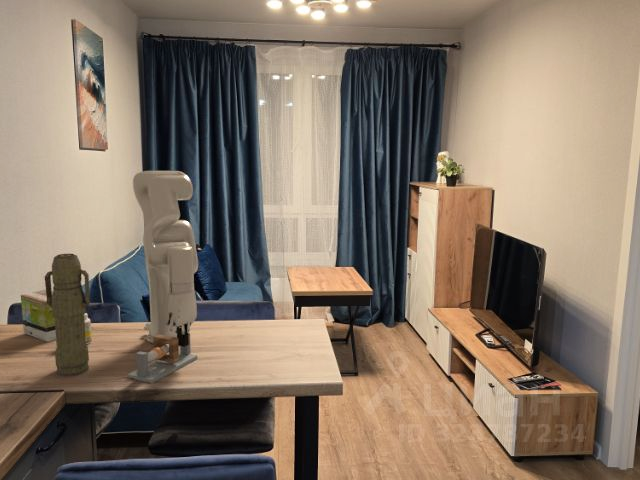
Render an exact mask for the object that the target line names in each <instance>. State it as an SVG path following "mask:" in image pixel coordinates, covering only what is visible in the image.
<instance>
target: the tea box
mask: <svg viewBox="0 0 640 480" xmlns="http://www.w3.org/2000/svg"><path fill="white" fill-rule="evenodd" d="M51 291H52V294H53V290H51ZM20 303H21V315H22V324H23V334H24V335H29V336H31V337H34V338H37V339H39V340H42V341H44V342H47V343H49V342H52V341H56V330H55V318H54V317H53V313H52V308H51V307H50V306H49V305H48V304H47V295H46V289H43V290H38V291H34V292H29V293H24V294H20Z"/></svg>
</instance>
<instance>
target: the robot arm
mask: <svg viewBox="0 0 640 480" xmlns="http://www.w3.org/2000/svg"><path fill="white" fill-rule="evenodd" d="M132 188H133V192H134V196H135V199H136V201H137V203H138V205H139V206H140V209H141V212H142V214H143V223H144V232H143V235H142V236H143V237H142V241H143V242H142V244H143V249H144V256H145V268H146V273H147V279H148V285H149V286H148V287H149V288H148V289H149V308H150V309H149V311H150V312H149V313H150V317H149V318H150V323H149V322H147V323H145V326H144V327H143V330H144V331H148V334H147V335H146V341H147V342H148V343H150V344H153V336H155V335H158V334H160V335H166V336H171V337H176V338H178V345H179V346H183V347H185V346H187V345H189V334H188V333H190V331H191V330H190V329H191V326H192V324H193V323H195V320H196V319H197V315H198V314H197V313H198V311H197V310H198V309H197V308H198V307H197V298H196V291H195V283H194V282H195V279H194V278H195V277H194V275H195V273H197V271H198V268H199V259H198V254H197V253H198V252H197V248H196V241H195V240H196V239H195V236H194V235H195V233H194V230H193V226H192V224H191V223H190V222H189V221H187V220H185V219H180V217H181V212H180V208H179V207H180V206H179V202H178V201H189V200H191V198H192V197H193V194H194V187H193V183H192V180H191V178H190V177H189V176H188V175H187V174H185V172H182V171H179V170H144V171H140V172H137V173H136V174H135V175H134V176H133V178H132Z"/></svg>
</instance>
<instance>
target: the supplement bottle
mask: <svg viewBox="0 0 640 480" xmlns="http://www.w3.org/2000/svg"><path fill="white" fill-rule="evenodd" d="M84 320H85V337H86V344H87V345H89V344H91V343H92V324H91V319H90V318H89V317H88V313H87V312H85V314H84Z"/></svg>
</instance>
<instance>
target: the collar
mask: <svg viewBox="0 0 640 480" xmlns="http://www.w3.org/2000/svg"><path fill="white" fill-rule="evenodd" d="M152 344H153V349H154V348H156V347H162V346H164V345H166V344H168V345H169V353H167V354H165V355H164V356H163V357H162V358H160V359H158V360H161V361H165V362H170V363H175V362H177V361H179V352H180V349H179V348H180V347H179V345H178V338H176V337H171V336H166V335H160V334H158V335H155V336H153V343H152ZM168 354H169V355H168Z"/></svg>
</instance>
